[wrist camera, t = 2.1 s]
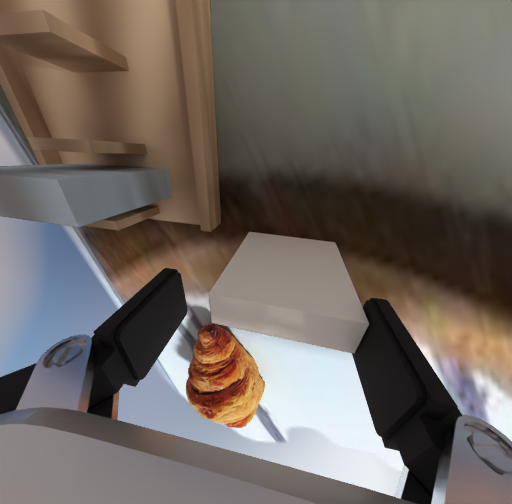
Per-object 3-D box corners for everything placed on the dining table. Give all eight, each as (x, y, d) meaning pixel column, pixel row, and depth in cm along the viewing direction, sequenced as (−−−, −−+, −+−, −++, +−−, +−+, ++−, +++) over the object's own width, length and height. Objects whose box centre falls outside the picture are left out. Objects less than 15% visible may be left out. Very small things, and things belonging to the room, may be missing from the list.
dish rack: (205, -89, 8) (-281, -1359, 1) (221, 223, 15) (157, 277, 9) (-19, -49, 10) (-630, -444, 4) (86, 207, 18) (-50, 240, 11)
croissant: (262, 383, 33) (279, 441, 26) (207, 405, 31) (209, 474, 24) (242, 294, 23) (261, 349, 16) (160, 318, 21) (141, 393, 14)
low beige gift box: (335, 242, 14) (369, 323, 7) (329, 263, 15) (354, 353, 8) (249, 231, 15) (208, 293, 8) (248, 252, 16) (211, 322, 9)
